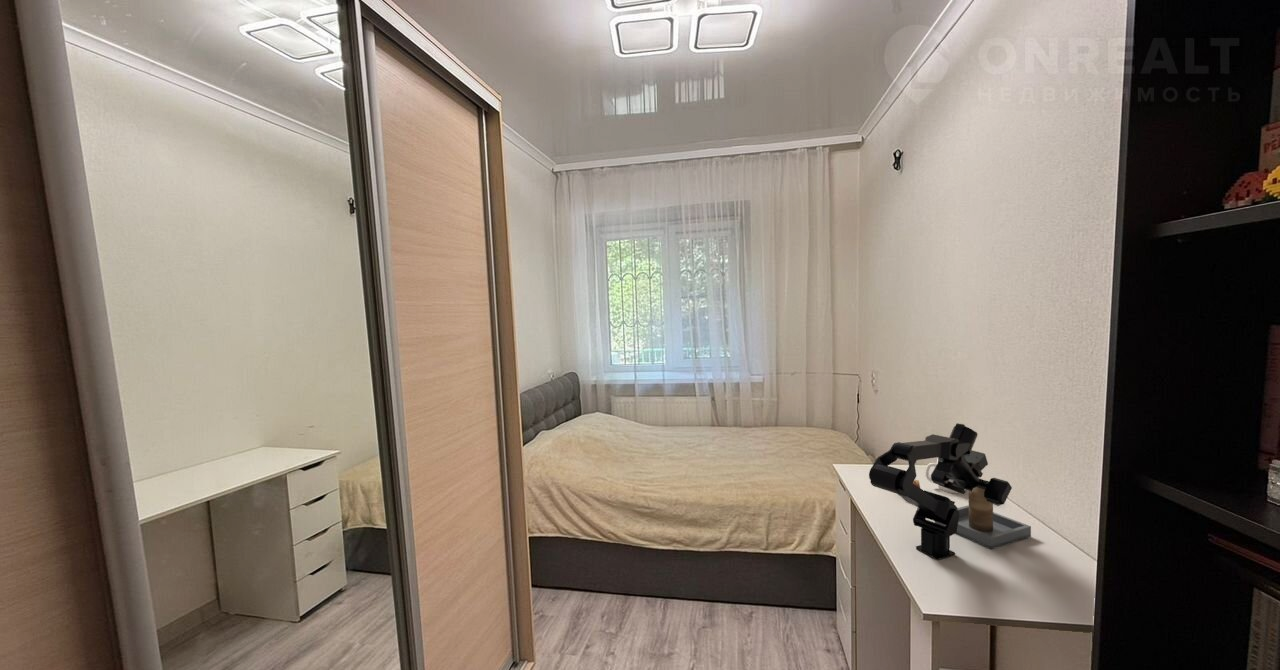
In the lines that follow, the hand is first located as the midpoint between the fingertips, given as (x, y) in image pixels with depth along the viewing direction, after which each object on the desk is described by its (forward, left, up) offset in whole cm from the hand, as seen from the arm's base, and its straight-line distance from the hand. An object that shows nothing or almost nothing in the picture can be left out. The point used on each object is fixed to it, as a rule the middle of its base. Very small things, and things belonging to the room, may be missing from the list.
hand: (981, 498), depth 133 cm
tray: (0, 0, -9) cm, 9 cm away
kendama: (+5, +28, -10) cm, 30 cm away
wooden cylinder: (0, 0, -8) cm, 8 cm away
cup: (+19, +25, -9) cm, 33 cm away
